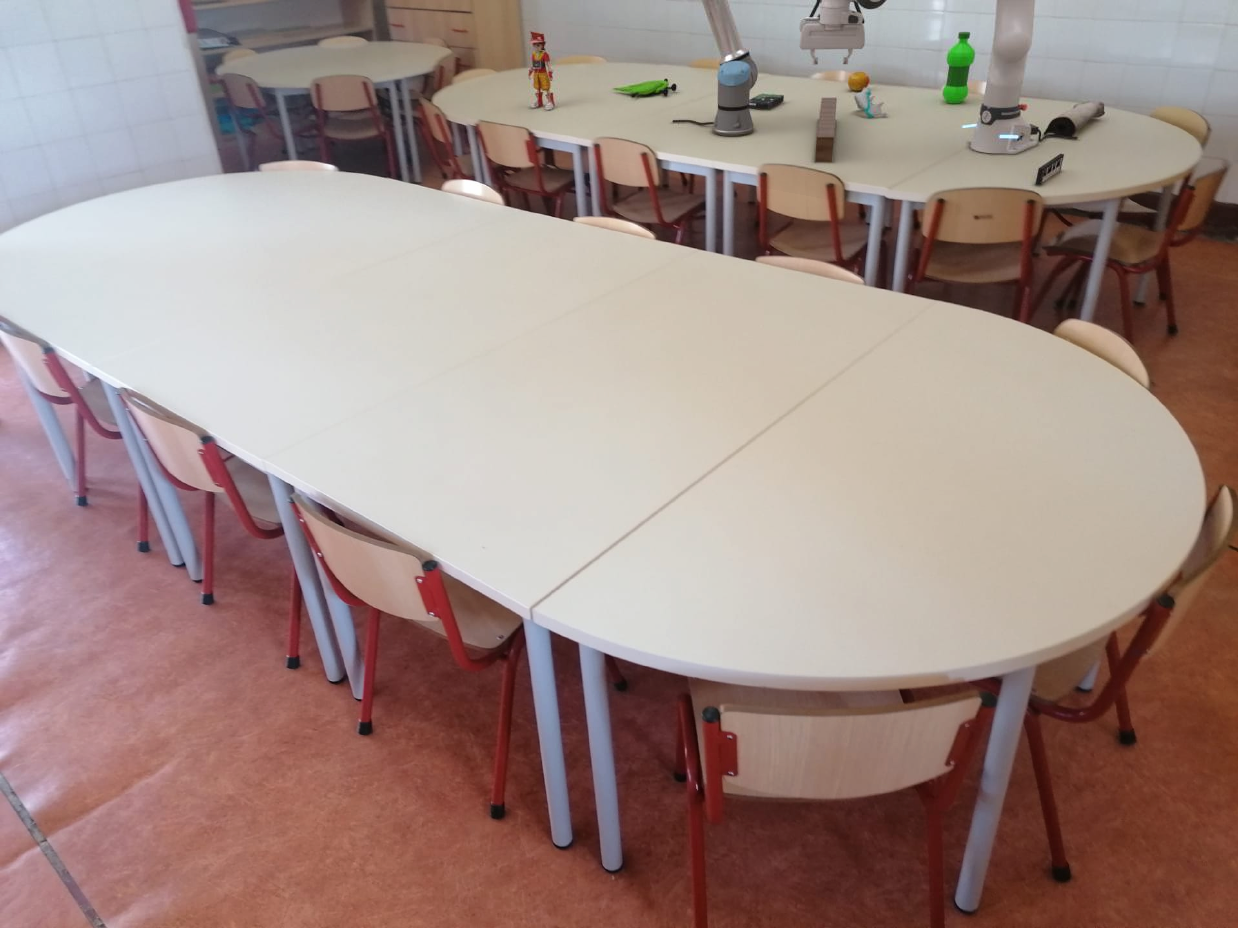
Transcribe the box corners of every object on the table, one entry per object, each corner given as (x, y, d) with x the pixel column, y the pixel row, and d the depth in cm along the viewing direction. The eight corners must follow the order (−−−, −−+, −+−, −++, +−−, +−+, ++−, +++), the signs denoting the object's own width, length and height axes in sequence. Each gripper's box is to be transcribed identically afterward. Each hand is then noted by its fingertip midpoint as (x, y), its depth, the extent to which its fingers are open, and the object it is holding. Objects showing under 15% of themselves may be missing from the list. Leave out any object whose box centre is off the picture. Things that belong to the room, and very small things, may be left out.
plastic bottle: (973, 101, 354) (984, 32, 339) (955, 106, 349) (966, 36, 335) (952, 97, 361) (962, 29, 346) (934, 102, 356) (944, 33, 342)
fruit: (843, 83, 375) (855, 65, 372) (845, 86, 383) (857, 69, 380) (859, 94, 374) (871, 76, 371) (861, 97, 382) (873, 80, 379)
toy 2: (686, 85, 398) (631, 84, 414) (685, 72, 395) (629, 72, 411) (651, 104, 381) (596, 103, 397) (650, 92, 378) (594, 91, 394)
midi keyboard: (1039, 185, 269) (1043, 168, 266) (1035, 184, 270) (1038, 168, 267) (1060, 170, 279) (1064, 154, 277) (1056, 169, 280) (1060, 153, 277)
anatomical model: (849, 87, 348) (874, 80, 347) (851, 114, 354) (876, 107, 353) (861, 96, 336) (887, 89, 335) (863, 124, 342) (889, 117, 341)
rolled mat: (1071, 106, 328) (1096, 88, 320) (1085, 127, 329) (1110, 110, 321) (1039, 128, 311) (1065, 111, 303) (1053, 150, 312) (1080, 133, 303)
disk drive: (769, 111, 359) (783, 102, 369) (769, 103, 357) (784, 94, 367) (745, 108, 363) (760, 100, 373) (745, 101, 362) (761, 92, 372)
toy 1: (525, 109, 381) (517, 32, 364) (534, 104, 388) (527, 28, 371) (550, 110, 377) (543, 32, 360) (559, 105, 384) (553, 28, 367)
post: (820, 120, 343) (821, 97, 339) (835, 120, 342) (836, 97, 337) (814, 162, 300) (816, 137, 296) (831, 162, 299) (834, 137, 294)
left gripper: (801, -18, 310) (797, 48, 322) (875, -20, 305) (869, 47, 317) (802, -21, 316) (798, 44, 328) (875, -23, 311) (868, 43, 323)
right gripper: (799, 19, 279) (796, 66, 287) (867, 17, 275) (862, 66, 283) (800, 15, 284) (798, 62, 292) (867, 14, 280) (862, 61, 288)
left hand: (833, 46), depth 323 cm, fingers open, 13 cm apart
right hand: (830, 64), depth 287 cm, fingers open, 8 cm apart
